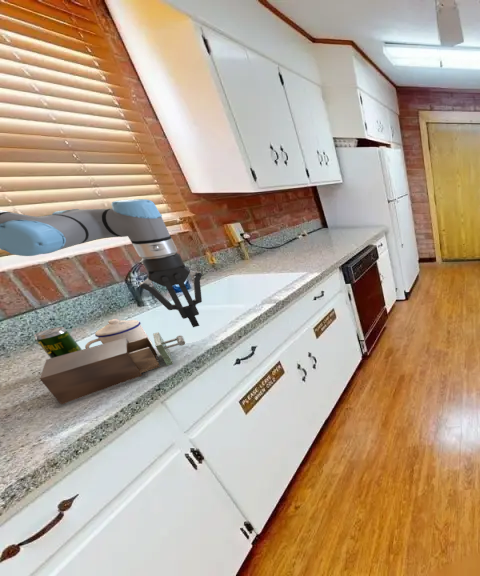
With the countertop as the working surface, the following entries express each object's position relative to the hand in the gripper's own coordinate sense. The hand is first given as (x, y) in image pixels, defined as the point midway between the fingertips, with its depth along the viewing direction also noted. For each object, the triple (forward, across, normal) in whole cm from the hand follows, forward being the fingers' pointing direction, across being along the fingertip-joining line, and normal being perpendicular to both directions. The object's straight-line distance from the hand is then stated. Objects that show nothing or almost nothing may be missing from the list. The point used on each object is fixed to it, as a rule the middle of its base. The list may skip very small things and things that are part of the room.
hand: (195, 325), depth 94 cm
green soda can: (+9, -27, +19) cm, 34 cm away
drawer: (+8, -12, 0) cm, 15 cm away
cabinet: (+9, -21, 0) cm, 23 cm away
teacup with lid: (+9, -17, +16) cm, 25 cm away
